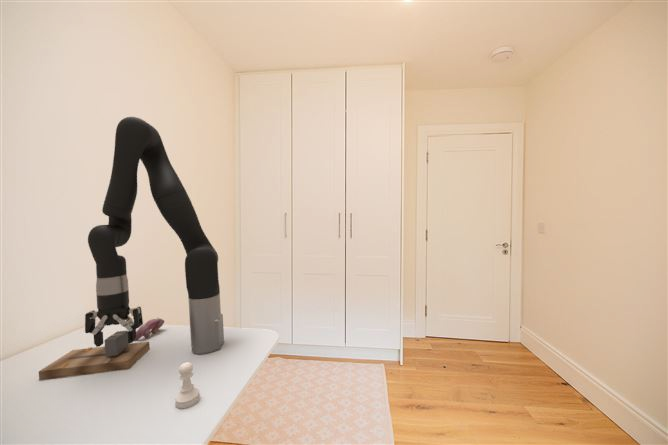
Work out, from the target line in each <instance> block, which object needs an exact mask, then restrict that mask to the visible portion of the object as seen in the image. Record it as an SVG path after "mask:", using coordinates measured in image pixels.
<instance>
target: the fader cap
mask: <svg viewBox="0 0 668 445" xmlns="http://www.w3.org/2000/svg"><path fill="white" fill-rule="evenodd" d="M103 342H104V346H105V355H106V357H109V356H117V355H118V354H120V353H121V352H122V351H123V350H125V349H126V348H127V347H128V346H129V343H128V330H127V329H126V330H120V331H115V332H114V333H113V334H110V336H108V337H107V338H105V339H103Z"/></svg>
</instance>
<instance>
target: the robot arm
mask: <svg viewBox="0 0 668 445" xmlns="http://www.w3.org/2000/svg"><path fill="white" fill-rule="evenodd" d="M114 138H115V140H114V151H113V160H112V166H111V167H112V169H111V176H110V180H109V183H108V188H107V191H106V195H105V197H104V201H103V205H102V209H101V211H102V214H103V215H104V216H107V217H108V224H100V225H99V224H98V225H95V226H94V227H92V229H90V231H89V233H88V235H87V236H88V237H87V243H88V247H89V250H90V252H91V256H92V258H93V260H94V263H95V273H96V281H95V291H96V292H95V293H96V307H97V309H98V310H97V311H96V310H91V311H89V312H87V313H85V314H84V315H85V316H84V333H85V334H92V335H93V344H94V345H95V347H102V346H103V345H104V332H103V330H104V328H105V326H107V327H108V326H111V325H113V326H115V325H116V326H118V325H121V327H123V328H125V329H126V331H127V330H128V343H130V344H131V343H134V341H136V340H135V339H136V331H137V330H138V329H139V328H140V327H141V326H142V325H143V324H144V320H143V313H142V311H143V310H142V307H141V306H137V307H134V308H131V307H130V293H129V278H128V276H127V275H128V274H127V273H128V271H127V260H126V257H124V256H123V255H119V254H118V251H117V248H119V247H123V246H124V245H126V244H127V243H128V242H129V240H130V238H131V236H132V222H133V220H132V213H133V209H134V206H135V203H136V199H137V196H138V167H139V164H140V161H141V163H142V164H143V166H144V168H145V170H146V173H147V176H148V181H149V187H150V193H151V197H152V199H153V202H154V203H155V204H156V205H155V206H156V207H157V209H158V210H159V212H160V214H161V216H162V217H163V219H164V220H165V221H166V223H167V224H168V225H169V227H170V229H172V230H173V231H174V232H175V235H177V237H178V238H179V239H180V242H181V244H182V246H183V249H184V251H185V253H186V256H185V260H184V272H185V273H184V274H185V284H186V289H187V290H186V291H187V294H188V295H187V296H188V310H189V312H188V313H189V328H190V330H189V332H190V346H191V352H192V353H193V354H196V355H205V354H209V353H213V352H215V351H220V350H221V349H222V347H223V345H224V343H225V334H224V333H225V332H224V331H225V330H224V317H223V313H222V312H221V296H220V292H221V291H220V283H219V281H220V280H219V267H218V264H219V263H218V262H219V256H218V252H217V251H216V249H215V248H214V247H213V245H212V243H211V242H210V240H209V238H208V237H207V236H206V234H205V232H204V230H203V228H202V225H201V223H200V221H199V217H198V215H197V213H196V210H195V207H194V205H193V203H192V200H191V198H190V196H189V195H188V193H187V190H186V189H185V187H184V185H183V183H182V180H181V179H180V178H179V177H180V176H178V174H177V172H176V170H175V168H174V167H173V165H172V163H171V161H170V159H169V157H168V154H167V151H166V149H165V146H164V143H163V139H162V138H161V135H160V133H159V131H158V130H157V129H156V128H155V127H154V126H153V125H152V124H150V123H148V122H147V121H145V120H144V119H142V118H140V117H136V116H127V117H124V118H123V119H121V120H120V121H119V122H118V124H117V126H116V129H115V136H114ZM130 314H131V316H132V317H133V318H132V317H131V316H130ZM96 318H98V319H99V321H98V323H97V324H96Z"/></svg>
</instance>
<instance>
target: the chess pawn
mask: <svg viewBox="0 0 668 445" xmlns="http://www.w3.org/2000/svg"><path fill="white" fill-rule="evenodd" d="M193 369H194V367H193V364H192V363H191V362H183V363H181V365H180V366H179V368H178V373H179V375H180V376H179V378H178V380H180V381H182V386H181V387H180V389H179V392H178V393H177V394H176V395H175V398H174V401H175V403H174V404H175V408H178V409H181V410H182V409H183V410H184V409H188V408H190V407H192V406H194V405H195V404H197V403H199V400H200V398H201V394H200V393H201V392H200V390H199V388H197V387H195V384H194V383H192V379H191V378H192V377H193V376H194V372H193Z"/></svg>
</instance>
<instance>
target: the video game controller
mask: <svg viewBox="0 0 668 445" xmlns="http://www.w3.org/2000/svg"><path fill="white" fill-rule="evenodd" d="M164 323H165V320H164V319H162V318H159V317H156V318H153V319H150V320H148V321H147V322H145V323H143V325H141V326H140V327H139V328H137V329H136V339H135V340H134V341H137V340H139V339H141V338H142V337H144V338H149V337H150V335H151V334H153V335H155V334H156V333H157V332H158V331H159V330H160V329H161V328H162V327H163V325H164ZM154 333H155V334H154Z"/></svg>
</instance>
